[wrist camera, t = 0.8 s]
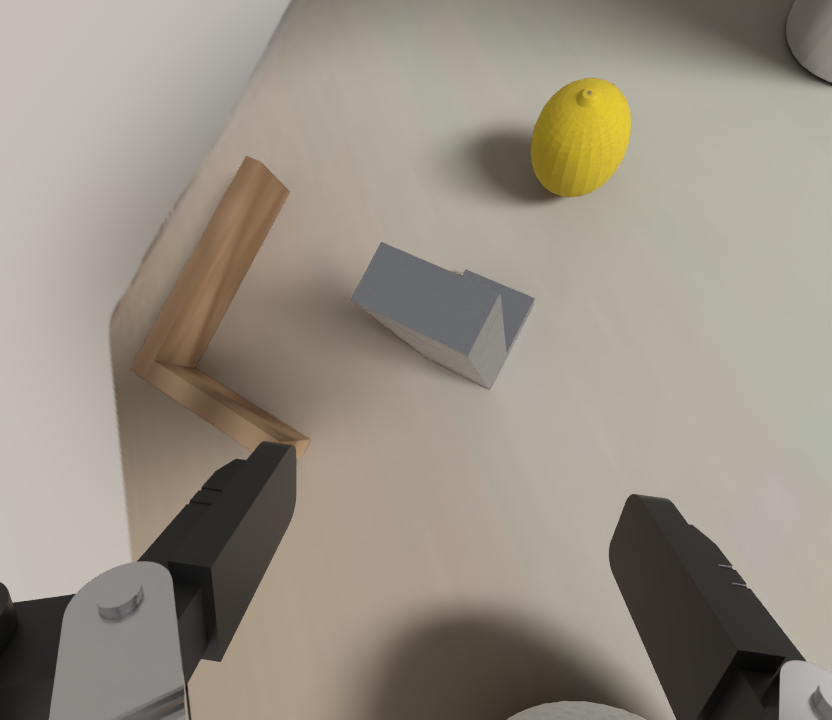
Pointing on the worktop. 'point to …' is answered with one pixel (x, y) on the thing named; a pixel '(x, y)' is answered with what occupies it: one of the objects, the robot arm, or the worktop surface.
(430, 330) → the angle bracket
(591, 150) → the lemon
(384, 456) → the worktop surface
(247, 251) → the wooden l-shaped block
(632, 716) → the cereal bowl
